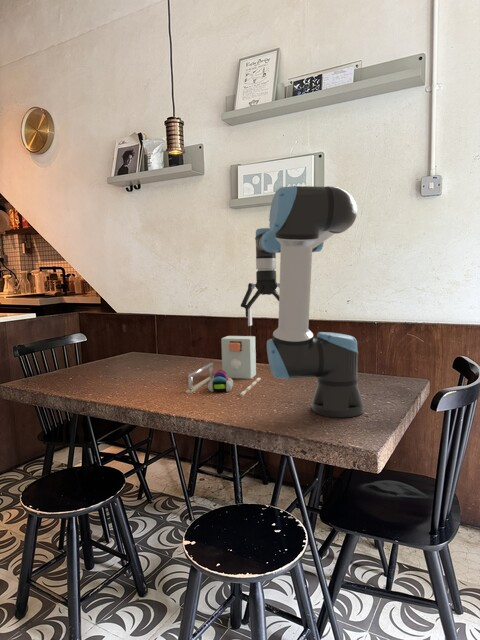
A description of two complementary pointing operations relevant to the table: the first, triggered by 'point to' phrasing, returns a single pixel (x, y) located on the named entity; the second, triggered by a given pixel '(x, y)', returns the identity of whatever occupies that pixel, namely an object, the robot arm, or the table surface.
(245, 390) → the cream square stick
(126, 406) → the table surface
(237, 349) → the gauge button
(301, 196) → the robot arm
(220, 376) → the rainbow petal baby toy
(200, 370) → the handrail
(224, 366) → the cabinet
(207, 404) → the table surface
